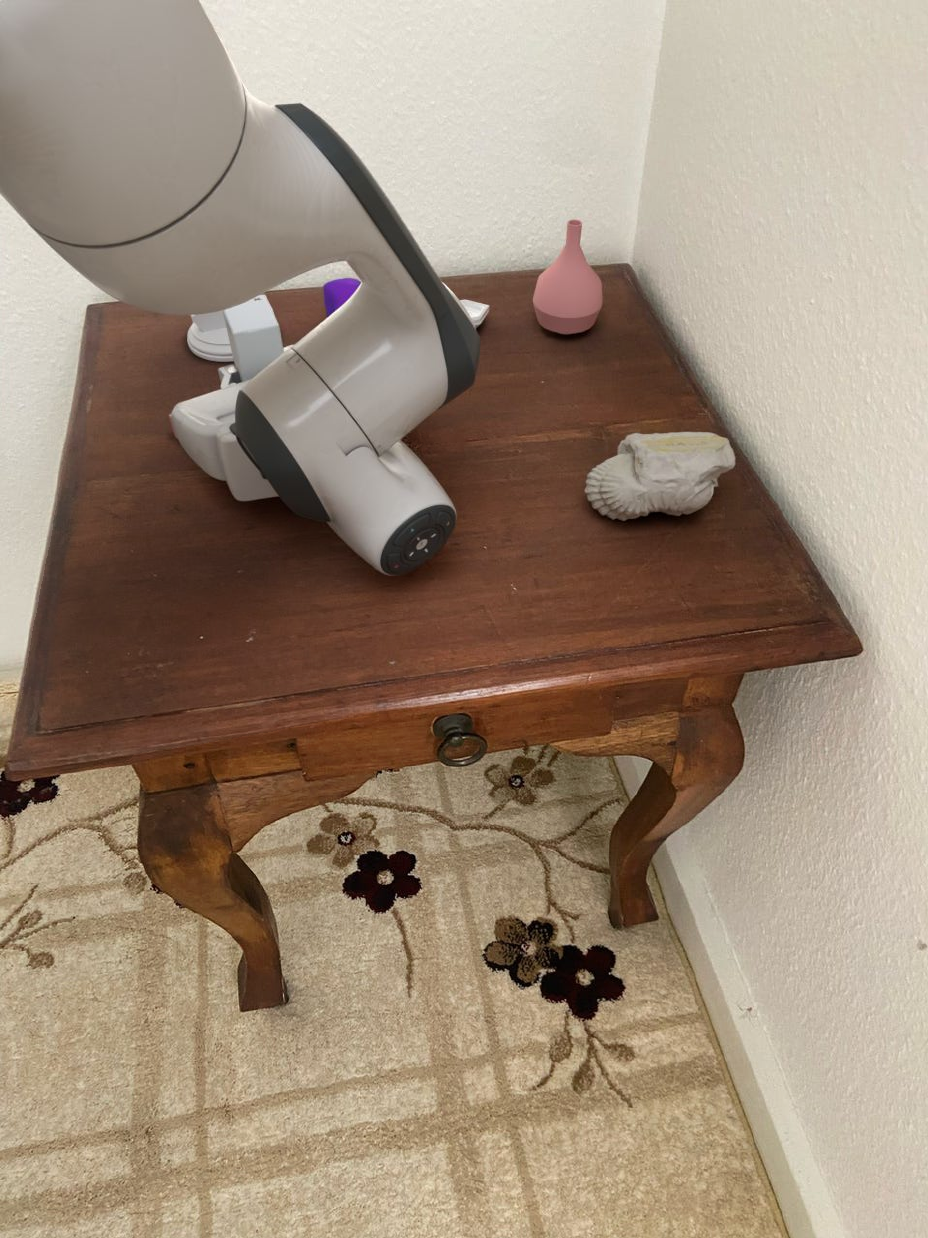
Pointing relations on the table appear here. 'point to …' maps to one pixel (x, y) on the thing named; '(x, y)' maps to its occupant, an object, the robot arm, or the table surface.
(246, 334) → the cosmetic box
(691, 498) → the fossil replica
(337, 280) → the purple rounded wedge
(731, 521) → the table surface
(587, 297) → the pink vase
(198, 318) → the chess piece
